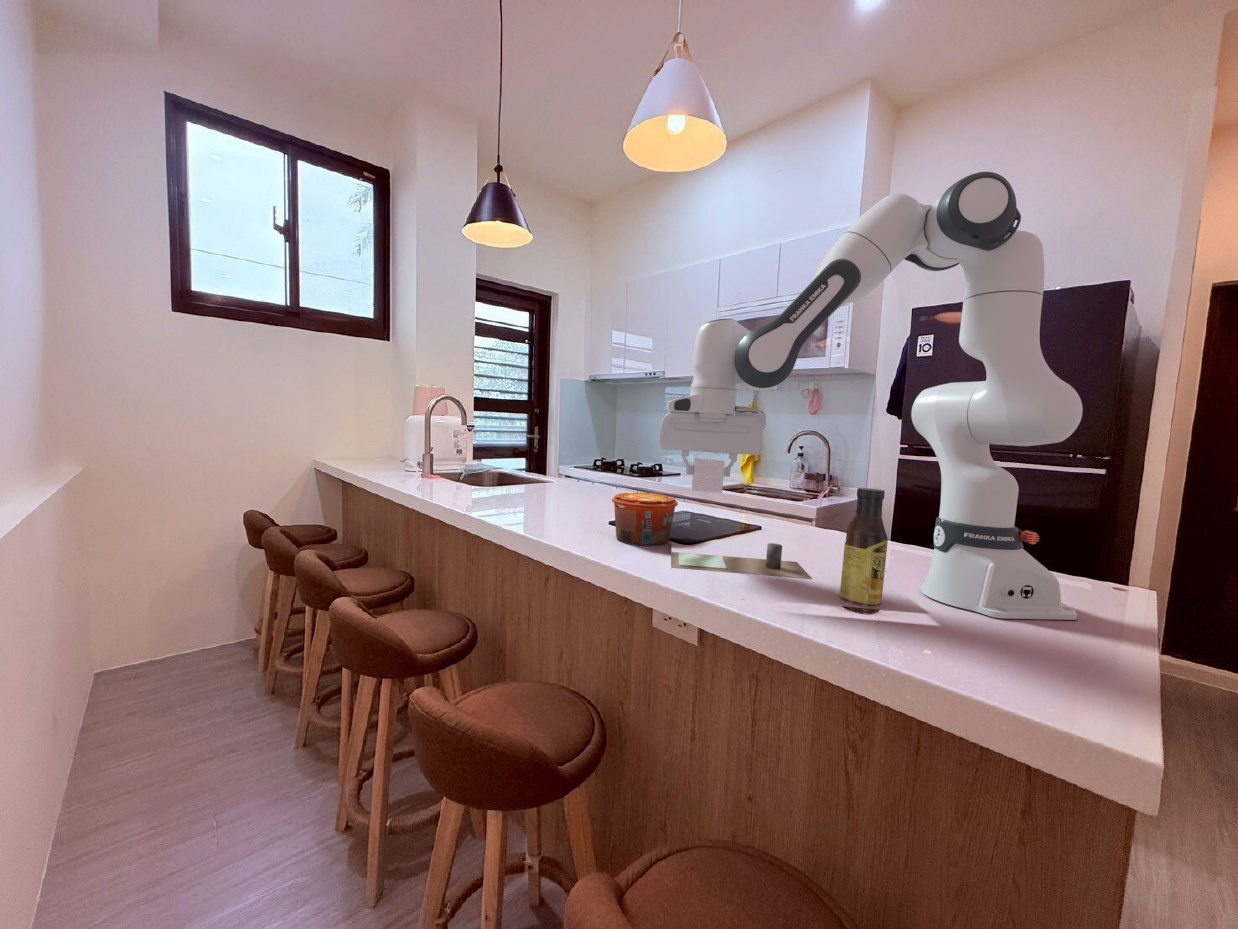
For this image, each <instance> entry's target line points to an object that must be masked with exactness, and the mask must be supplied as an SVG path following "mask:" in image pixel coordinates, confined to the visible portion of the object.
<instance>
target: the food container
mask: <svg viewBox="0 0 1238 929" xmlns="http://www.w3.org/2000/svg"><path fill="white" fill-rule="evenodd" d="M611 501H612V502H613V506H614V522H615V523H614V524H615V537H616V539H617V540H618V541H620V542H621V543H624V544H629V545H632V546H638V547H639V546H641V547H654V546H655V547H657V546H662V545H663V546H664V545H666V544H667V543H669V540H670V534H671V531H672V524H673V519H674V515H675V510H676V507H677V506H678V505H679V504H678V501H676V499H675V498H674V496H672V497H671V496H670V497H669V496H668V495H667V494H666V495H665V494H658V493H655V494H653V493H650V492H649V493H648V492H634V493H633V492H632V493H629V492H621V493H618V494H615V495H614V497H612V499H611ZM612 502H611V503H612Z"/></svg>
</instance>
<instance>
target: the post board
mask: <svg viewBox="0 0 1238 929" xmlns="http://www.w3.org/2000/svg"><path fill="white" fill-rule="evenodd" d="M766 546H767V547H766V557H765V558H766V559H765V558H763V559H762V558H753V557H752V558H751V557H741V556H739V557H738V556H727V555H726V556H725V555H715V554H714V555H713V554H703V553H690V552H689V553H687V552H675V551H671V552H670V553H671V554H670V569H682V570H683V569H684V570H693V571H694V570H696V571H706V572H707V571H708V572H718V573H733V574H743V575H744V574H746V575H753V576H754V575H755V576H756V575H757V576H758V575H759V576H767V577H768V576H769V577H779V578H791V579H792V578H793V579H805V580H813V577H811V575H810V574H809V573H808V572H807V571H806V570H805V569H804V568H803V566H802V565H801V564H799V563H798V561H793V560H792V561H791V560H790V561H789V560H788V561H787V560H782V556H783V554H782V553H783V545H782V544H779V543H769V542H768V543H767V545H766Z"/></svg>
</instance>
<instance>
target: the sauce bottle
mask: <svg viewBox="0 0 1238 929" xmlns="http://www.w3.org/2000/svg"><path fill="white" fill-rule="evenodd" d="M885 492H886V491H885V490H883V489H878V488H867V487H857V489H856V496H857V497H856V498H857V502H856V509H855V516H854V518H853V519H852V520H851V521H850V522H849V523H848V525H847V529H846V531H845V532H846V533H845V534H846V536H845V542H844V548H843V558H842V567H841V579H840V589H839V590H840V591H839V595H840V598H841V599H842V600H843V601H845V602H847V603H849V604H852V605H856V606H861V607H856V606H846V605H842V606H841V607H842V608H843V609H845V610H847V611H851V612H854V613H859V614H868V615H869V614H870V615H871V614H872V615H873V614H877V613H878V612H880V608H874V607H878V606H880V605H881V604H882V601H883V599H882V598H883V590H884V581H885V570H886V561H887V552H888V551H887V550H888V540H889V539H888V536H887V532H886V529H885V525H884V521H883V518H882V517H883V512H882V511H883V502H884V501H883V500H884V499H885ZM866 607H867V608H866ZM872 607H873V608H872Z"/></svg>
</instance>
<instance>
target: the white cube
mask: <svg viewBox="0 0 1238 929" xmlns="http://www.w3.org/2000/svg"><path fill="white" fill-rule="evenodd" d="M725 464H726V462H725V461H723V460H721V459H713V458H711V459H709V458H697V457H694V458H693V464H692V465H694V470H693V471H694V473H693V475H692V474H691V476H692V477H691V478H692V479H691V490H692V492H706V493H717V494H718V493H719V494H722V493H723V486H724V485H723V484H724V477H723V475H724V467H725Z"/></svg>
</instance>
